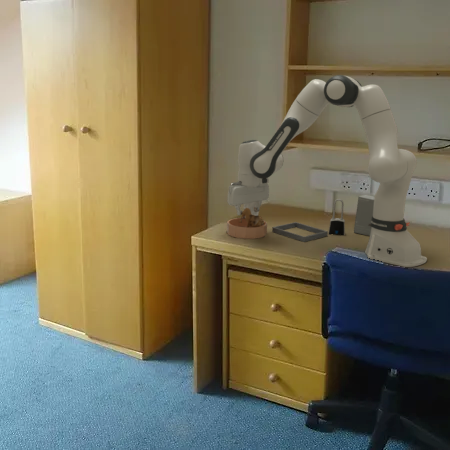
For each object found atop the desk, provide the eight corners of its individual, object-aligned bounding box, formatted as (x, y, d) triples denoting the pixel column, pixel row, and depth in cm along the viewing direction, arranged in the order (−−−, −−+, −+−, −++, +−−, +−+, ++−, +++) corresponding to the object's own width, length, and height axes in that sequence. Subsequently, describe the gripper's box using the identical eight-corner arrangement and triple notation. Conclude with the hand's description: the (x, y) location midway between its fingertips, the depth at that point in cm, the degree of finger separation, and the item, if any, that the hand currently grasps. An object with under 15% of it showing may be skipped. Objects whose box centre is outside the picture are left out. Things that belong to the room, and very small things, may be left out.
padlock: (328, 234, 243) (330, 199, 239) (328, 231, 247) (331, 197, 243) (344, 235, 242) (347, 200, 238) (344, 233, 246) (347, 198, 242)
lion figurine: (260, 236, 241) (267, 219, 237) (250, 237, 238) (257, 220, 233) (241, 214, 250) (248, 197, 245) (231, 215, 247) (238, 198, 242)
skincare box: (353, 232, 246) (356, 196, 242) (361, 229, 251) (364, 193, 247) (371, 236, 241) (375, 199, 236) (379, 233, 246) (382, 196, 242)
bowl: (274, 234, 242) (274, 223, 241) (245, 240, 232) (245, 230, 231) (248, 225, 254) (248, 215, 253) (219, 231, 244) (219, 221, 243)
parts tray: (327, 236, 241) (327, 231, 240) (303, 242, 232) (304, 237, 231) (295, 226, 254) (295, 222, 254) (272, 231, 245) (272, 227, 245)
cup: (245, 217, 268) (245, 184, 264) (262, 219, 265) (264, 185, 261) (239, 221, 260) (240, 187, 256) (257, 223, 257) (258, 189, 253)
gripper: (234, 184, 228) (234, 218, 231) (271, 178, 241) (271, 210, 244) (224, 181, 233) (223, 215, 236) (261, 176, 245) (260, 208, 249)
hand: (248, 213), depth 240 cm, fingers open, 8 cm apart
